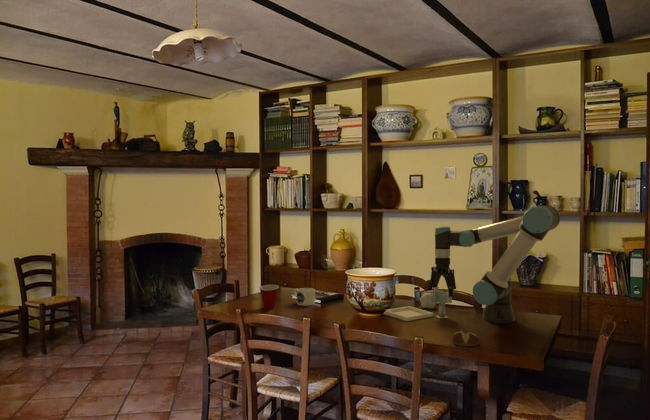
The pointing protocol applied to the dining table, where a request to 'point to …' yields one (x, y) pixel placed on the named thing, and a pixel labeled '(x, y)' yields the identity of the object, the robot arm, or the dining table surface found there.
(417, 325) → the dining table surface
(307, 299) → the mug
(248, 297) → the dining table surface
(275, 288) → the plastic cup
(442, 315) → the grey pedestal column
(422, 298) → the die
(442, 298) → the grey-green rounded block
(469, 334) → the bread
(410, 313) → the tray
